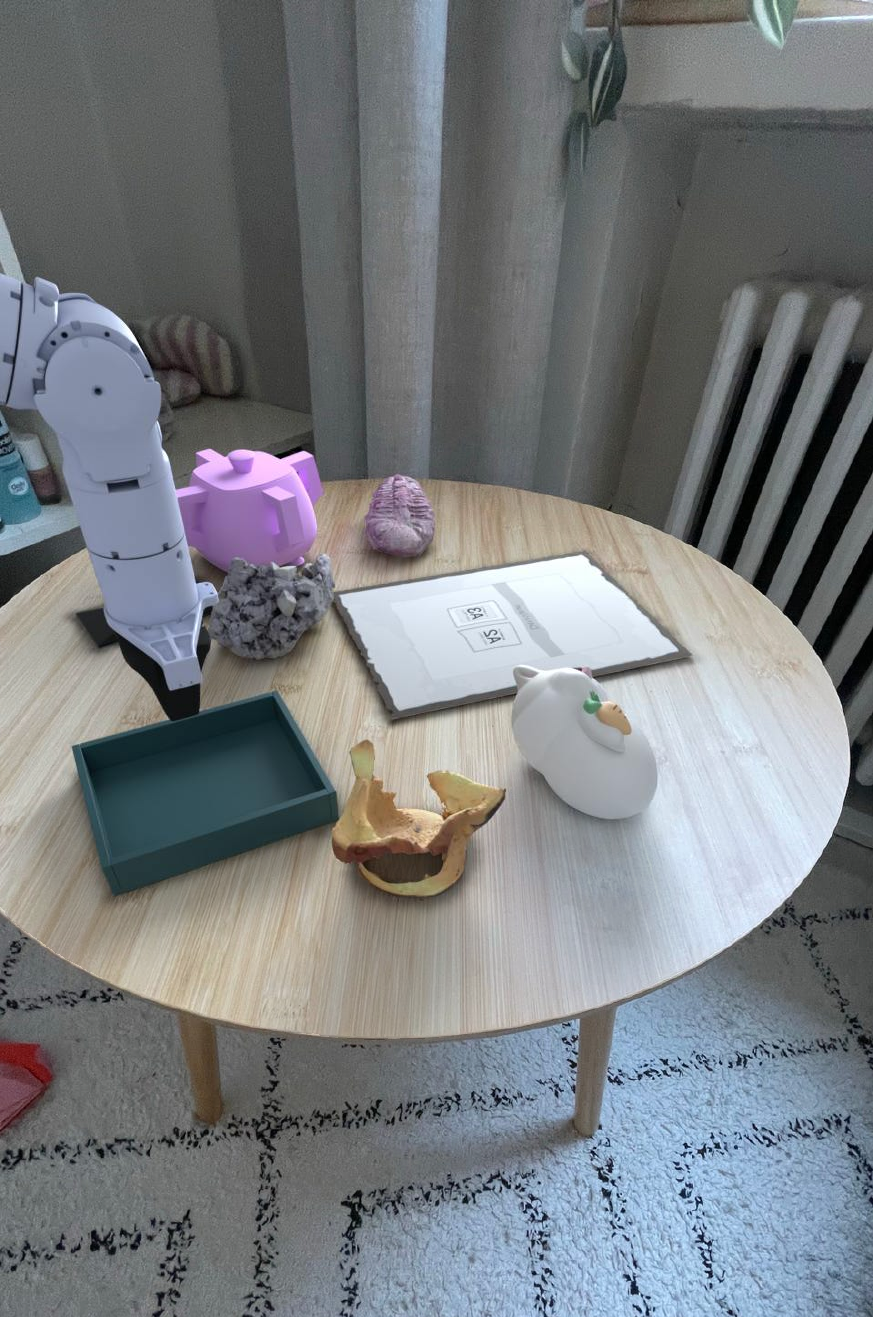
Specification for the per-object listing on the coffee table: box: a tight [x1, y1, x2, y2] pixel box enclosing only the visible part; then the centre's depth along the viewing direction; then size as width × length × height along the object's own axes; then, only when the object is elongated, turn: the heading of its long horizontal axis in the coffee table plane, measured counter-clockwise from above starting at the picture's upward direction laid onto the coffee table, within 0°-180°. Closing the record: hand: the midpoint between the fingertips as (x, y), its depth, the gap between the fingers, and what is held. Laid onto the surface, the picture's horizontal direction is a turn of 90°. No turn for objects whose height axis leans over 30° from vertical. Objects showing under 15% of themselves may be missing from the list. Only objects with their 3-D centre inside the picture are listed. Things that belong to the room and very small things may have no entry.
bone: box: [331, 738, 507, 902], centre depth 52 cm, size 12×10×8 cm
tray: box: [71, 689, 340, 897], centre depth 57 cm, size 16×13×3 cm
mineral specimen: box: [206, 552, 336, 661], centre depth 72 cm, size 12×9×10 cm
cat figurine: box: [510, 665, 659, 820], centre depth 58 cm, size 10×8×15 cm
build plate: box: [75, 579, 213, 650], centre depth 75 cm, size 12×7×5 cm, turn 126°
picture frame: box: [332, 550, 694, 720], centre depth 76 cm, size 22×1×30 cm
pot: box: [175, 448, 324, 573], centre depth 81 cm, size 18×17×12 cm
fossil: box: [363, 473, 436, 558], centre depth 88 cm, size 8×14×5 cm, turn 4°
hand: (183, 712), depth 56 cm, fingers closed
